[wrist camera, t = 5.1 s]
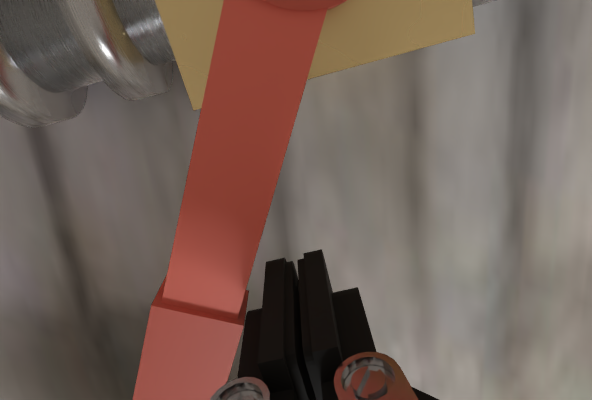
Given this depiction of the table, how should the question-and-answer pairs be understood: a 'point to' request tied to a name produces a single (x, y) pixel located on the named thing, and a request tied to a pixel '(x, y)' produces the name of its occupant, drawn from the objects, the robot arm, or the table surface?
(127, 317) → the table surface
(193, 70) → the ball valve
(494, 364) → the table surface
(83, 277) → the table surface
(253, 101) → the lever
